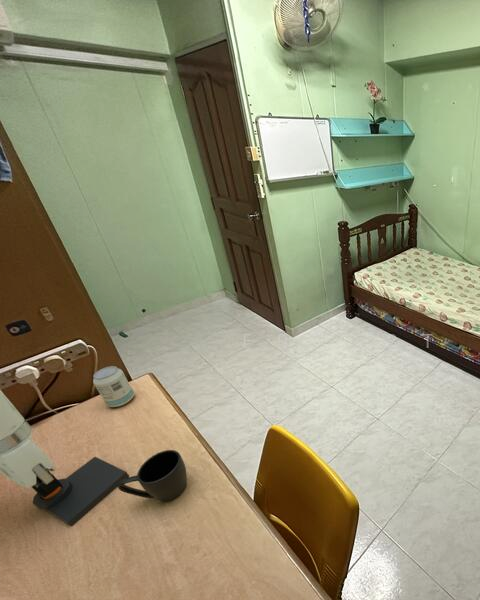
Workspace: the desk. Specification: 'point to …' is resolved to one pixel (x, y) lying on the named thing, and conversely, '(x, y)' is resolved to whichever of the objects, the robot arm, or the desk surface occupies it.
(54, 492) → the button
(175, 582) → the desk surface
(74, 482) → the scale
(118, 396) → the white supplement bottle
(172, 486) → the mug
